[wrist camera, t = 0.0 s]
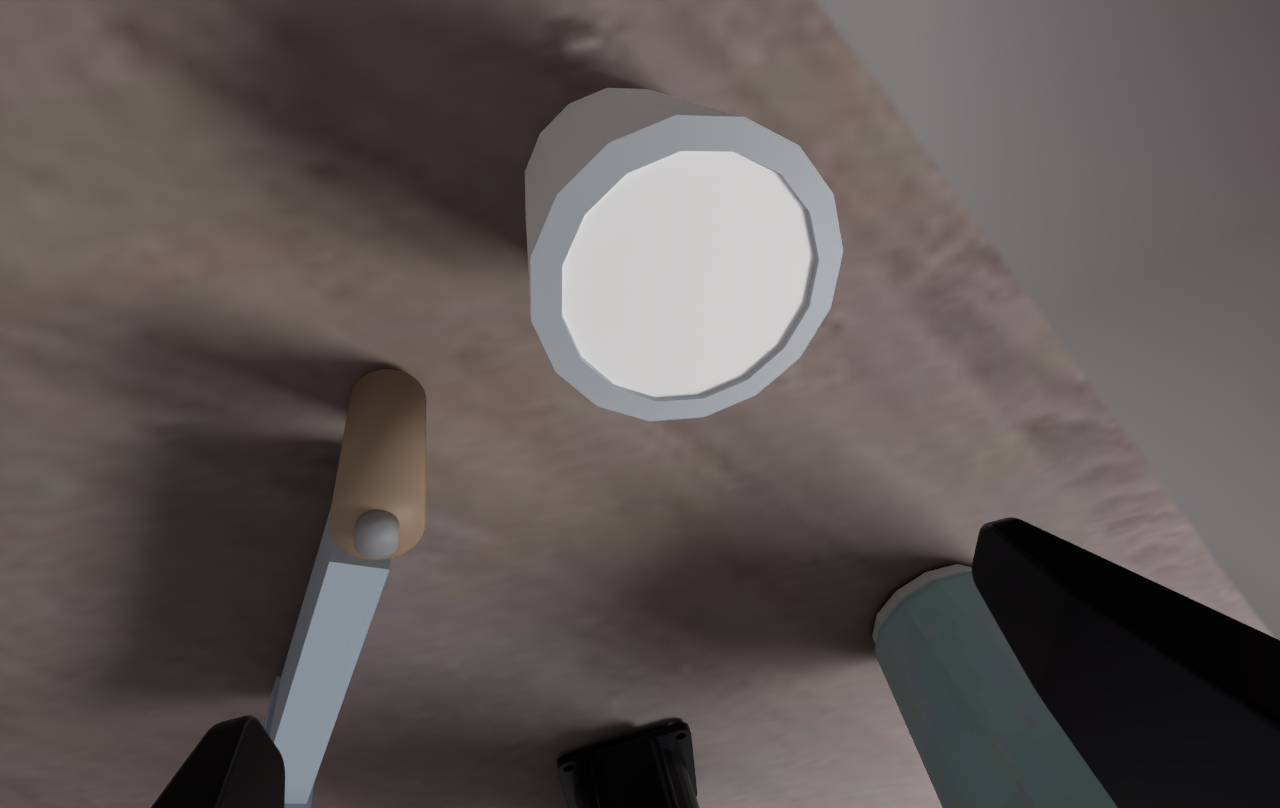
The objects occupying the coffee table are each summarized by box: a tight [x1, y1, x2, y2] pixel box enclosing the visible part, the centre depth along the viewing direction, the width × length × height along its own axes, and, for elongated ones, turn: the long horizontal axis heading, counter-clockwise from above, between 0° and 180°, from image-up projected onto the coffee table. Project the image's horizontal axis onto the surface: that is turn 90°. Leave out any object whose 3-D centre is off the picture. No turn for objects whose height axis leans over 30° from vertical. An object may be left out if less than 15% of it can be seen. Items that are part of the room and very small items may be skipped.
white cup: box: [525, 88, 843, 421], centre depth 18 cm, size 7×7×7 cm
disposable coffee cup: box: [872, 564, 1117, 808], centre depth 29 cm, size 11×11×15 cm
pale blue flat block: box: [264, 369, 426, 808], centre depth 22 cm, size 15×2×6 cm, turn 156°
